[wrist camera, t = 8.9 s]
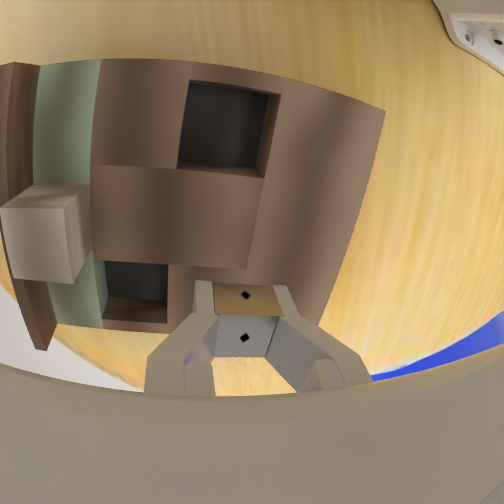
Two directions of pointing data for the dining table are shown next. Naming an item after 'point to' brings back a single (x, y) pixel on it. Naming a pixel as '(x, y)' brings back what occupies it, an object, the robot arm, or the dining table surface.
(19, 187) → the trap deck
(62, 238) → the cube
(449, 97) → the dining table surface
